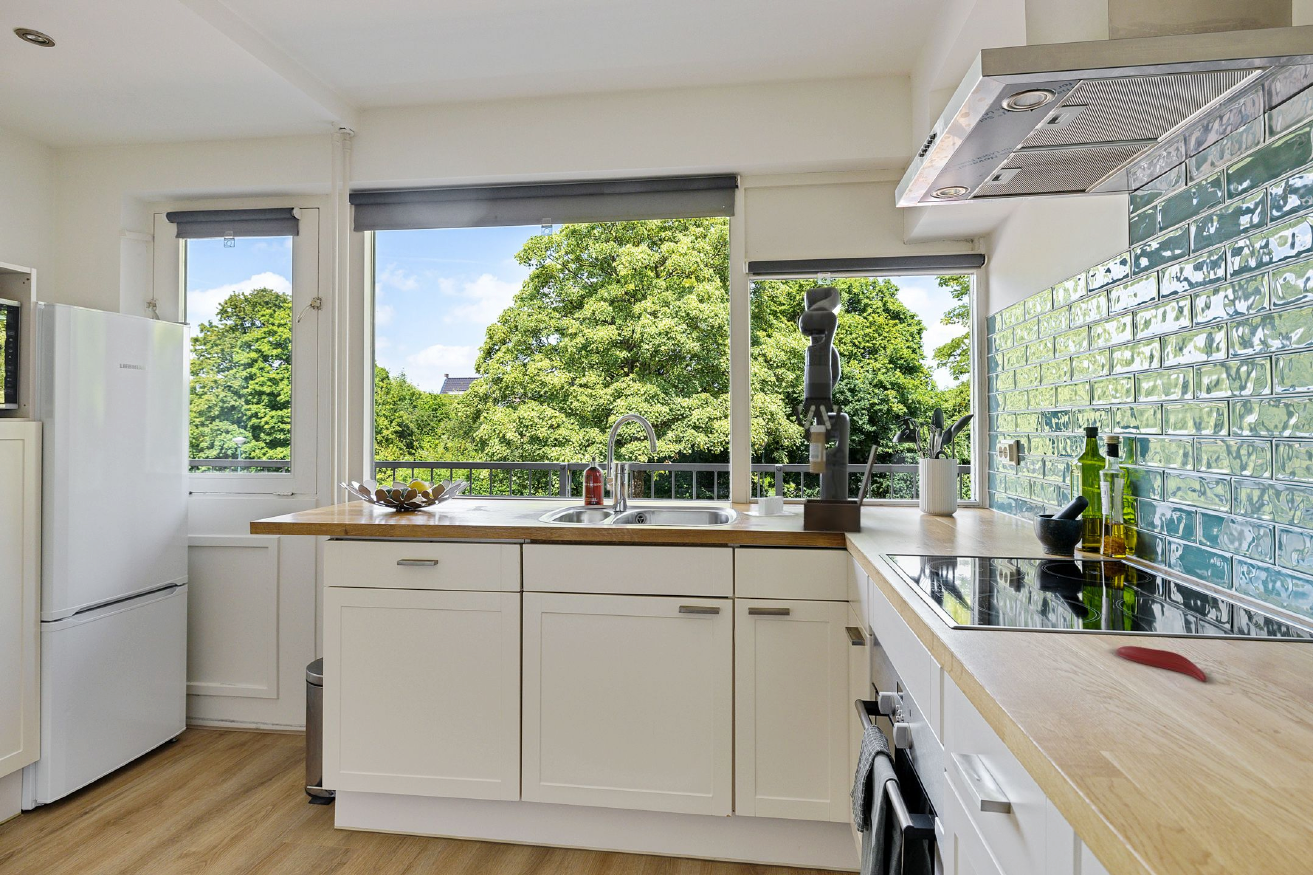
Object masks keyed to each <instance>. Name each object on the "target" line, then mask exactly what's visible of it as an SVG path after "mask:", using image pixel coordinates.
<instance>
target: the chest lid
mask: <svg viewBox="0 0 1313 875" xmlns="http://www.w3.org/2000/svg"><path fill="white" fill-rule="evenodd" d="M878 451H879V446H877V445H875V444H872V447H871V450H870V454H869V458H868V461H867V465H866V468H865V471H864V475H863V479H862V482H861V485H860V489H859V492H858V495H857V500H859V503H861V504H862V505H863V502H864V499H865V496H866V493H867V490H868V489H867V488H868V484H869V482H870V479H871V475H872V473H873V472H872V471H873V468H874V465H875V461H876V458H877V456H878V455H877V454H878Z"/></svg>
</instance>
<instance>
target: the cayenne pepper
mask: <svg viewBox="0 0 1313 875" xmlns="http://www.w3.org/2000/svg"><path fill="white" fill-rule="evenodd" d="M1115 651H1116V655H1118V656H1120V657H1121V658H1124V659H1126V660H1129V661H1132V662H1136V663H1139V664H1142V665H1148V666H1152V667H1156V668H1161V669H1166V670H1169V671H1174V672H1178V673H1182V674H1186V675H1188V676H1191V677H1194V678H1195V679H1197V680H1199V681H1200V682H1203V683H1205V682H1207V676H1206V675H1205V673H1204V671H1203V670H1202V669H1201V668H1199V667H1198V666H1197V665H1196V663H1194V662H1193V661H1191V660H1189V659H1188V658H1187V657H1185V656H1183V655H1182V654H1179V653H1176V652H1173V651H1169V650H1163V649H1155V648H1148V647H1143V646H1136V645H1124V646H1119V647H1118V648H1117V650H1115Z"/></svg>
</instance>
